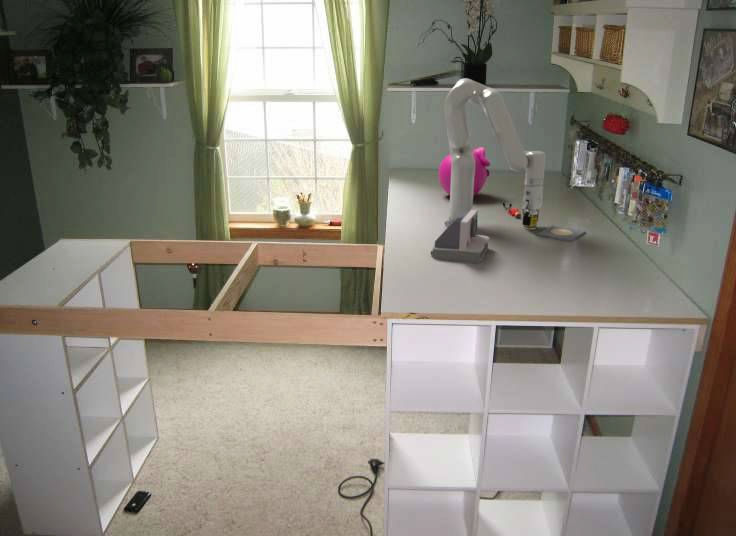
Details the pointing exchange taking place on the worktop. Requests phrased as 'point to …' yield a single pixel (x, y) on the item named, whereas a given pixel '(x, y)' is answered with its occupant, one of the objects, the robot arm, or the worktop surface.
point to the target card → (561, 233)
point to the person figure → (512, 211)
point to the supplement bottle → (532, 220)
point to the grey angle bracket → (461, 240)
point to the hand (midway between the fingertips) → (530, 222)
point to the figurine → (479, 176)
